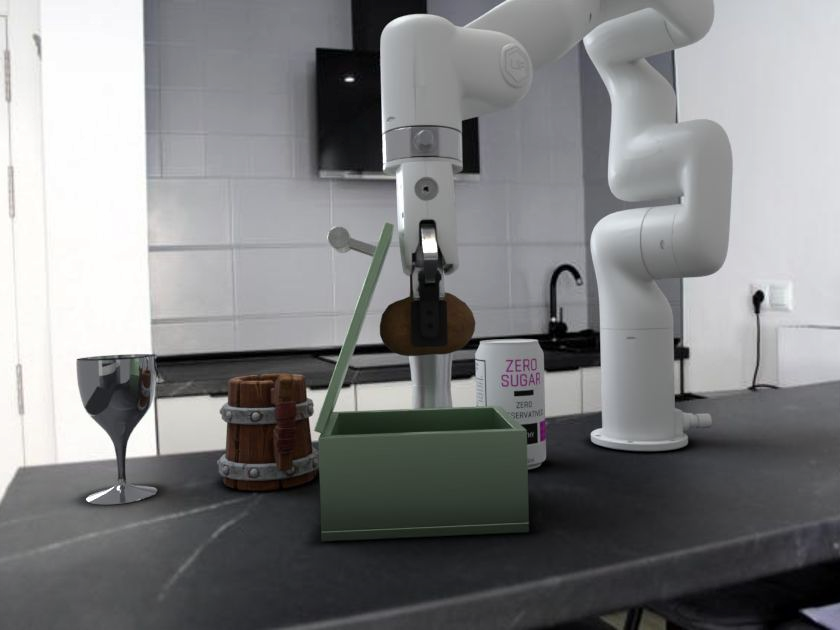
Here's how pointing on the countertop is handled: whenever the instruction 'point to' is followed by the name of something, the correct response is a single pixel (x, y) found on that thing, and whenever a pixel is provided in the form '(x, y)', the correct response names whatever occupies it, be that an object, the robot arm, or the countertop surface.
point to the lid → (343, 244)
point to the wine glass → (118, 410)
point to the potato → (399, 327)
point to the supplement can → (515, 387)
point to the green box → (423, 473)
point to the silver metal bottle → (431, 381)
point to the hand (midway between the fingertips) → (426, 342)
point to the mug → (268, 433)
